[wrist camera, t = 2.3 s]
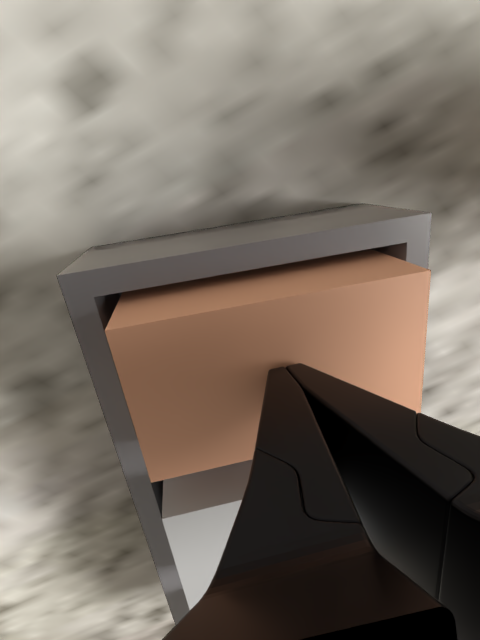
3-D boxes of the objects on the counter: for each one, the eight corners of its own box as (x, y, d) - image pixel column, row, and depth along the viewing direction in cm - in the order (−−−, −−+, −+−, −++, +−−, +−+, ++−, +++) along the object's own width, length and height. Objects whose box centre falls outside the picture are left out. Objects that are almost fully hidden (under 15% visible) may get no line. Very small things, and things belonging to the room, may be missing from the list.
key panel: (363, 530, 20) (404, 607, 17) (187, 575, 19) (190, 669, 16) (362, 203, 14) (431, 212, 10) (91, 247, 12) (56, 275, 9)
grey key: (367, 486, 15) (410, 555, 12) (188, 531, 14) (191, 615, 12) (368, 399, 13) (418, 456, 11) (164, 444, 13) (161, 519, 10)
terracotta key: (367, 369, 13) (419, 420, 10) (156, 414, 12) (151, 482, 9) (368, 247, 11) (430, 270, 9) (123, 290, 10) (104, 330, 8)
